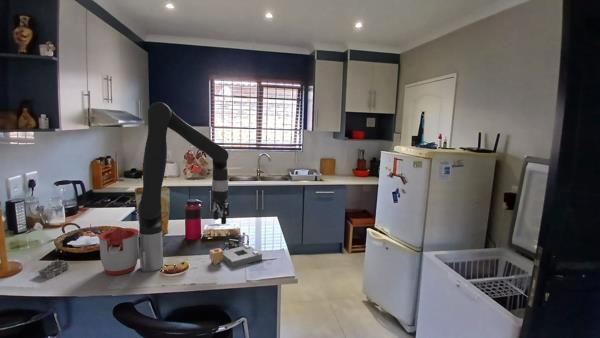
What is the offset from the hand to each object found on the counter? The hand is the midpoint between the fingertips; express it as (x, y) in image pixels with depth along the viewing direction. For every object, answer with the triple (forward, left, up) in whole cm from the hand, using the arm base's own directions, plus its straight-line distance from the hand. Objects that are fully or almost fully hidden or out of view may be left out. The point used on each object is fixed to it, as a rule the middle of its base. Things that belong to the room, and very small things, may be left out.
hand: (219, 221), depth 155 cm
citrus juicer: (-41, +14, -20) cm, 48 cm away
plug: (-3, -3, -19) cm, 20 cm away
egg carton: (-64, +28, -20) cm, 73 cm away
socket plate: (+9, -5, -19) cm, 22 cm away
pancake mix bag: (-17, +56, -20) cm, 62 cm away
